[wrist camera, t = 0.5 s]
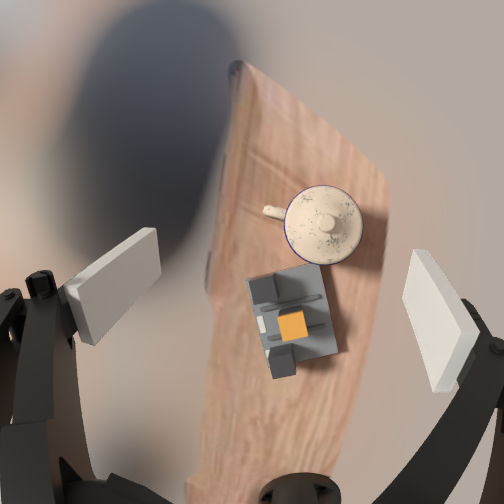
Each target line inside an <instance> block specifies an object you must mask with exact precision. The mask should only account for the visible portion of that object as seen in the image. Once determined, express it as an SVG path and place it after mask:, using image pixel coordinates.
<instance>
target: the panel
mask: <svg viewBox="0 0 504 504" xmlns="http://www.w3.org/2000/svg"><path fill="white" fill-rule="evenodd" d="M246 283H247V287H248V291H249V295H250V298H251V302H252V306H253V310H254V314H255V318H256V322H257V326H258V330H259V334H260V338H261V341H262V345H263V349H264V353H265V357H266V361H267V365H268V368H270V370H271V373H272V377H273V379H277V378H282V377H287V376H292V375H296V362H300V361H305V360H309V359H313V358H318V357H322V356H326V355H330V354H334V353H338V349H337V344H336V339H335V334H334V330H333V325H332V320H331V315H330V311H329V306H328V302H327V297H326V293H325V288H324V284H323V280H322V275H321V271H320V267H319V265H316V264H312V263H308V264H304V265H300V266H296V267H292V268H288V269H284V270H280V271H276V272H272V273H268V274H264V275H259V276H255V277H251V278H248V279H246ZM297 305H302V309H303V313H304V318H305V322H306V327H307V332H308V336H307V337H302V338H298V339H294V340H289V341H285V342H283V340H282V336H281V332H280V328H279V323H278V319H277V316H278V314H279V310H280V309H284V308H289V307H293V306H297Z"/></svg>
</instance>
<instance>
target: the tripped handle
mask: <svg viewBox="0 0 504 504" xmlns="http://www.w3.org/2000/svg"><path fill="white" fill-rule="evenodd" d="M277 319H278V323H279V328H280V332H281V336H282V340H283V342H285V341H289V340H294V339H298V338H302V337H307V336H308V332H307V327H306V322H305V318H304V313H303V309H302V305H297V306H293V307H289V308H284V309H280V310H279V314H278V316H277Z"/></svg>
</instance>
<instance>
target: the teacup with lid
mask: <svg viewBox="0 0 504 504" xmlns="http://www.w3.org/2000/svg"><path fill="white" fill-rule="evenodd" d="M263 214H264V215H265V216H267V217H270V218H272V219H275V220H278V221H281V222H284V232H285V236H286V239H287V241H288V244H289V245H290V247H291V248H292V250H293V251H294V252H295V253H296V254H297V255H298V256H299V257H300V258H302V259H303V260H305V261H307V262H309V263H312V264H316V265H333V264H336V263H339V262H341V261H343V260H345V259H346V258H348V257H349V256H350V255H351V254H352V253H353V252H354V251H355V249H356V248H357V246H358V245H359V243H360V240H361V237H362V233H363V219H362V215H361V212H360V209H359V207H358V205H357V204H356V202H355V201H354V200H353V199H352V197H351V196H349V195H348V194H347V193H346V192H344V191H343V190H341V189H339V188H336V187H333V186H327V185H319V186H313V187H310V188H307V189H305V190H303V191H302V192H300V193H299V194H298V195H297V196H296V197H295V198H294V199H293V200H292V201H291V203H290V204H289V206H288V208H287V210H286V209H283V208H279V207H275V206H270V205H267V206H265V207H264V210H263Z"/></svg>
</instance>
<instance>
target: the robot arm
mask: <svg viewBox="0 0 504 504" xmlns="http://www.w3.org/2000/svg"><path fill="white" fill-rule="evenodd" d="M159 276H161V267H160V258H159V251H158V242H157V233H156V228H142V229H141V230H140V231H138V232H137V233H135V234H134V235H132V236H131V237H129V238H128V239H126V240H125V241H123V242H122V243H121V244H119V245H118V246H116V247H115V248H113V249H112V250H111V251H109V252H108V253H106V254H105V255H104V256H102V257H101V258H99V259H98V260H97V261H95V262H94V263H92V264H91V265H90V266H88V267H87V268H85V269H84V270H82V271H81V272H80V273H79V274H77V275H76V276H74V277H73V278H72V279H70V280H69V281H68V282H66V283H65V284H64V285H62V286H61V287H60V288H58V289H57V287H56V283H55V280H54V277H53V273H52V272H51V271H50V270H42V271H38V272H35V273H33V274H31V275H30V276H28V277H27V278H26V280H25V282H26V285H27V288H28V291H29V294H30V297H31V299H23V297H22V293H21V291H20V289H18V288H13V289H8V290H5V291H4V292H3V293H1V294H0V488H1V501H2V504H172V503H171V502H169V501H168V500H166V499H164V498H163V497H161V496H159V495H157V494H156V493H155V492H153V491H151V490H150V489H148V488H147V487H145V486H143V485H140V484H137V483H135V482H132V481H130V480H127V479H125V478H123V477H120V476H118V475H116V474H113V473H111V474H110V475H109V477H108V479H107V480H100V479H96V477H95V475H94V473H93V471H92V467H91V463H90V458H89V454H88V448H87V444H86V438H85V432H84V426H83V420H82V413H81V406H80V397H79V388H78V378H77V367H76V366H77V365H76V350H75V341H74V338H73V335H74V334H75V333H76V331H78V333H79V336H80V338H81V341H82V342H84V343H87V344H90V345H93V346H95V345H96V344H97V343H98V342H99V341H100V340H101V338H102V337H103V336H104V335H105V334H106V333H107V332H108V331H109V329H111V328H112V327H113V325H114V324H115V323H116V322H117V321H118V320H119V319H120V318H121V317H122V316H123V314H124V313H125V312H126V311H127V310H128V309H129V308H130V307H131V306H132V305H133V304H134V303H135V302H136V301H137V300H138V299H139V297H141V295H142V294H143V293H144V292H145V291H146V290H147V289H148V288H149V287H150V286H151V285H152V284H153V283H154V282H155V281H156V280H157V279H158V278H159ZM402 299H403V302H404V305H405V307H406V310H407V313H408V315H409V318H410V321H411V324H412V327H413V330H414V333H415V336H416V338H417V342H418V344H419V348H420V351H421V354H422V357H423V360H424V364H425V367H426V370H427V373H428V377H429V380H430V384H431V388H432V391H433V393H434V392H450V391H451V390H452V388H453V386H454V384H455V382H456V381H458V384H459V387H460V388H459V389H458V391H457V393H456V395H455V397H454V398H453V400H452V401H451V403H450V404H449V406H448V408H447V409H446V411H445V413H444V414H443V415H442V417H441V418H440V420H439V421H438V423H437V424H436V426H435V428H434V429H433V430H432V432H431V434H430V435H429V436H428V438H427V439H426V440H425V441H424V443H423V444H422V446H421V447H420V448H419V450H418V451H417V452H416V453H415V455H414V456H413V458H412V459H411V460H410V461H409V462H408V464H407V465H406V466H405V467H404V468H403V470H402V471H401V472H400V473H399V474H398V476H397V477H396V478H395V479H394V480H393V481H392V483H391V484H390V485H389V486H388V487H387V488H386V489H385V491H383V493H382V494H381V495H380V496H379V497H378V498H377V499H376V500H375V501H374V502H373V503H372V504H444V503H445V501H446V500H447V498H448V497H449V495H450V493H451V492H452V490H453V489H454V487H455V486H456V484H457V482H458V481H459V479H460V477H461V476H462V474H463V472H464V470H465V469H466V467H467V465H468V464H469V462H470V460H471V458H472V456H473V454H474V452H475V450H476V448H477V446H478V444H479V442H480V440H481V438H482V436H483V434H484V432H485V430H486V428H487V425H488V423H489V421H490V418H491V416H492V414H493V412H494V409H495V408H498V411H497V420H496V428H495V435H494V441H493V448H492V453H491V458H490V463H489V468H488V472H487V477H486V481H485V485H484V489H483V492H482V496H481V500H480V503H479V504H504V340H502V339H500V338H497V337H493V336H492V335H491V333H490V331H489V330H488V328H487V326H486V325H485V323H484V321H483V320H482V318H481V317H480V315H479V314H478V312H477V310H476V309H475V307H474V306H473V305H472V304H471V303H470V302H468V301H467V300H466V299H460V298H459V296H458V295H457V293H456V292H455V290H454V289H453V287H452V285H451V284H450V282H449V281H448V280H447V278H446V276H445V275H444V274H443V272H442V271H441V269H440V268H439V266H438V265H437V263H436V262H435V261H434V259H433V258H432V256H431V255H430V254H429V252H428V251H427V250H422V249H413V252H412V257H411V261H410V267H409V271H408V275H407V279H406V284H405V288H404V292H403V296H402ZM9 331H10V333H11V336H12V340H10V337H9ZM12 415H13V421H12V424H10V421H11V419H12ZM258 504H341V493H340V489H339V487H338V486H337V484H336V483H335V482H333V481H332V480H331V479H329V478H327V477H325V476H322V475H318V474H312V473H295V474H289V475H284V476H281V477H278V478H276V479H274V480H272V481H271V482H269V483H268V484H267V485H265V486H264V488H263V489H262V491H261V493H260V497H259V502H258Z"/></svg>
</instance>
